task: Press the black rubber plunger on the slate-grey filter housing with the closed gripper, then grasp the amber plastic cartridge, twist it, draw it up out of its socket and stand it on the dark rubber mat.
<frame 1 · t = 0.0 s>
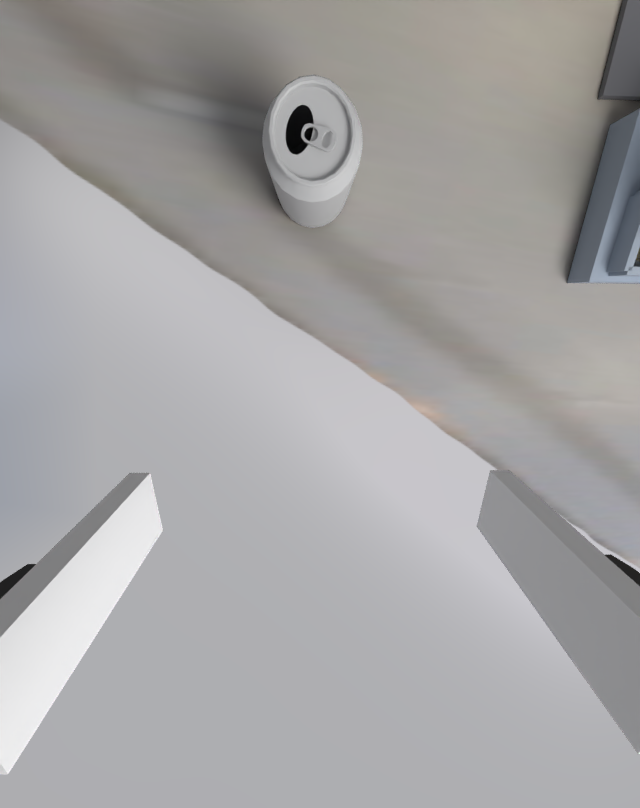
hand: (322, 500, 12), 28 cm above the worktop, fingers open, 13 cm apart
housing: (635, 210, 33), on the worktop
can: (312, 190, 32), on the worktop
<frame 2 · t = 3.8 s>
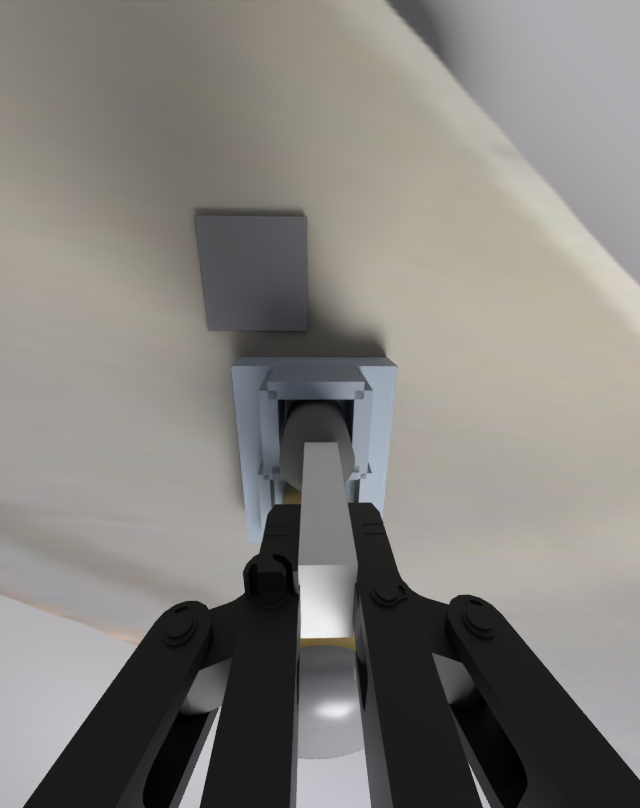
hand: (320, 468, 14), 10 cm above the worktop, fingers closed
plunger: (316, 438, 16), point 8 cm above the worktop, slide at 0.6 cm, touching gripper
housing: (314, 445, 25), on the worktop
mat: (256, 277, 20), on the worktop
cartridge: (314, 497, 23), point 3 cm above the worktop, touching housing
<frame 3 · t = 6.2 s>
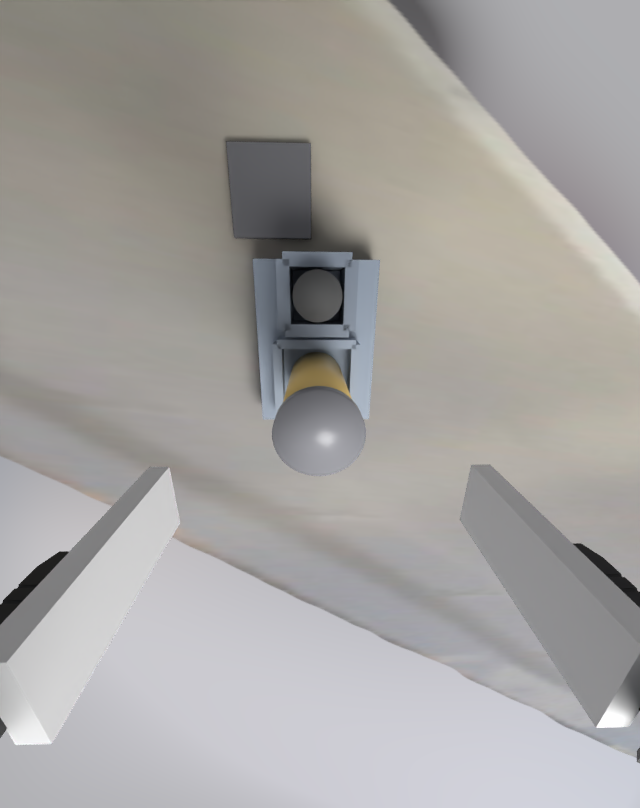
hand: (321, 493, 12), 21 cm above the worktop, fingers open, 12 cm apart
plunger: (317, 296, 24), point 6 cm above the worktop, slide at 2.0 cm
housing: (316, 341, 31), on the worktop
mat: (271, 194, 26), on the worktop
cartridge: (316, 377, 29), point 3 cm above the worktop, touching housing
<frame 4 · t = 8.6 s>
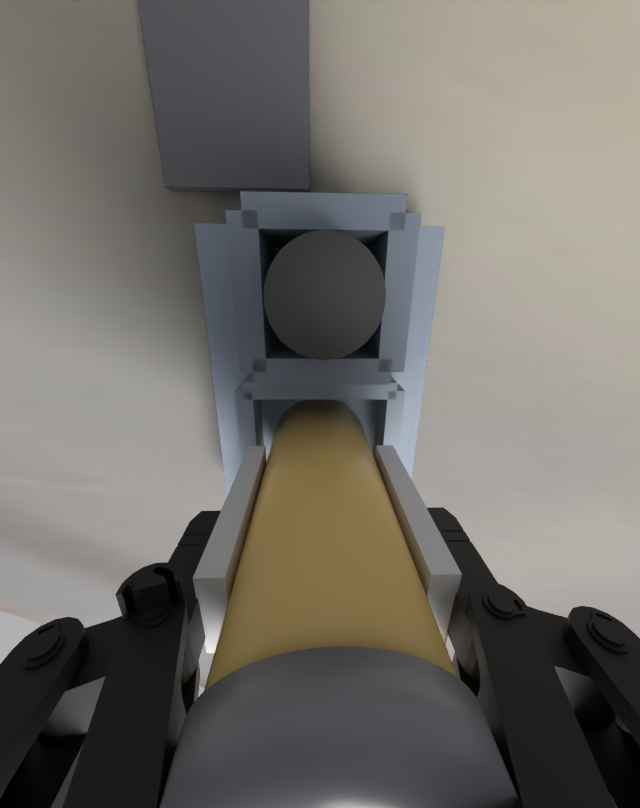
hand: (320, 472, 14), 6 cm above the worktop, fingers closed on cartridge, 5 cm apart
plunger: (322, 298, 11), point 6 cm above the worktop, slide at 2.0 cm
housing: (318, 374, 18), on the worktop
mat: (234, 102, 14), on the worktop
cartridge: (319, 439, 17), point 3 cm above the worktop, touching gripper, housing
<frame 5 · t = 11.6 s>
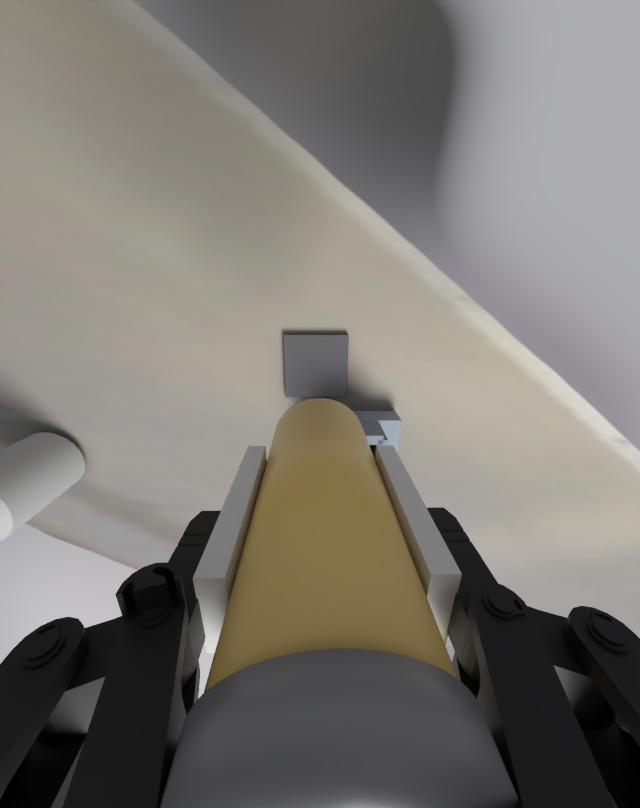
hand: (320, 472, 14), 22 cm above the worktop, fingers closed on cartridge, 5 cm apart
housing: (346, 464, 38), on the worktop
mat: (315, 365, 34), on the worktop
can: (60, 455, 37), on the worktop
cartridge: (319, 440, 17), point 18 cm above the worktop, touching gripper
when the fingers open (5 cm above the worktop, at t = 14.9 s): cartridge stays where it is, resting on mat.
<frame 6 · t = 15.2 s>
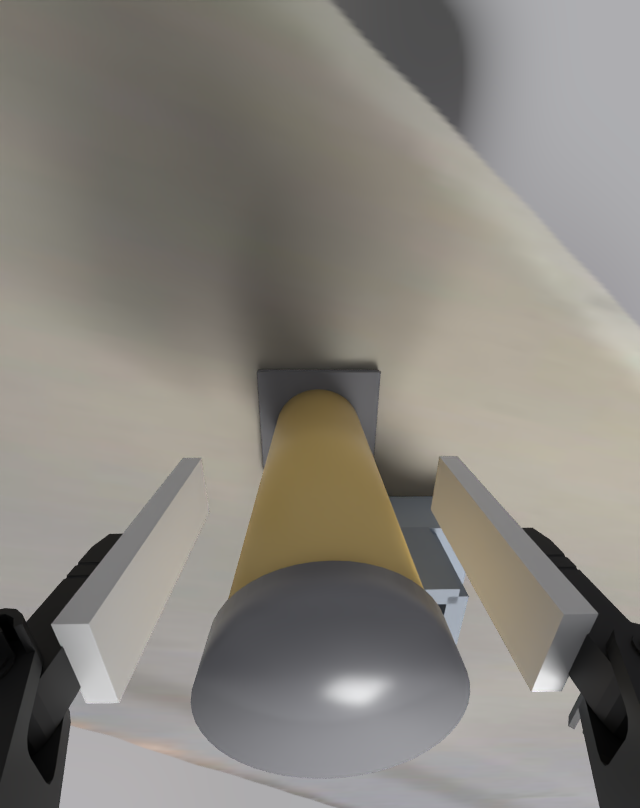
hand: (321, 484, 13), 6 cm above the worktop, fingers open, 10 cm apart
housing: (368, 576, 23), on the worktop
mat: (318, 424, 19), on the worktop
cartridge: (318, 428, 18), point 1 cm above the worktop, touching mat
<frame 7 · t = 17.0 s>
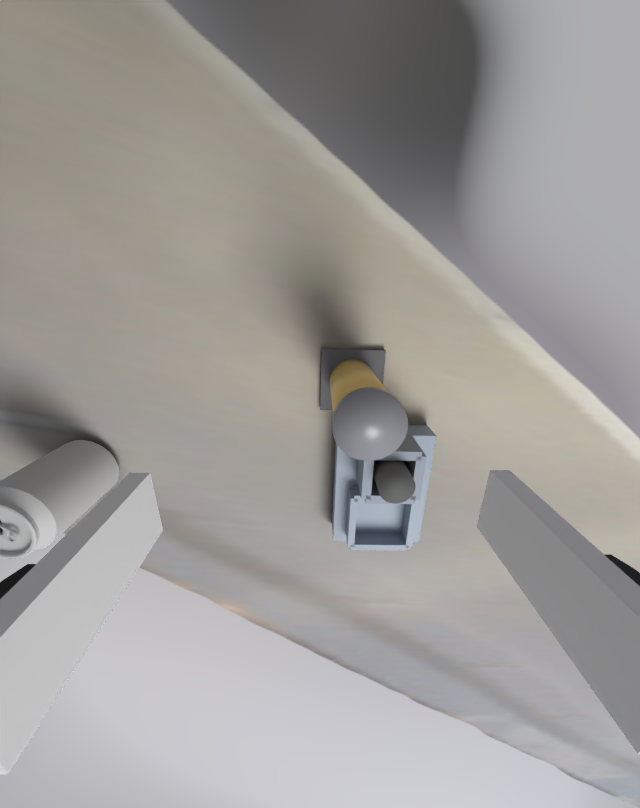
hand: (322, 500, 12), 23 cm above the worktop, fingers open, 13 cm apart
plunger: (391, 473, 31), point 6 cm above the worktop, slide at 2.0 cm
housing: (376, 477, 38), on the worktop
mat: (351, 379, 34), on the worktop
can: (94, 462, 38), on the worktop
cartridge: (351, 381, 34), point 1 cm above the worktop, touching mat
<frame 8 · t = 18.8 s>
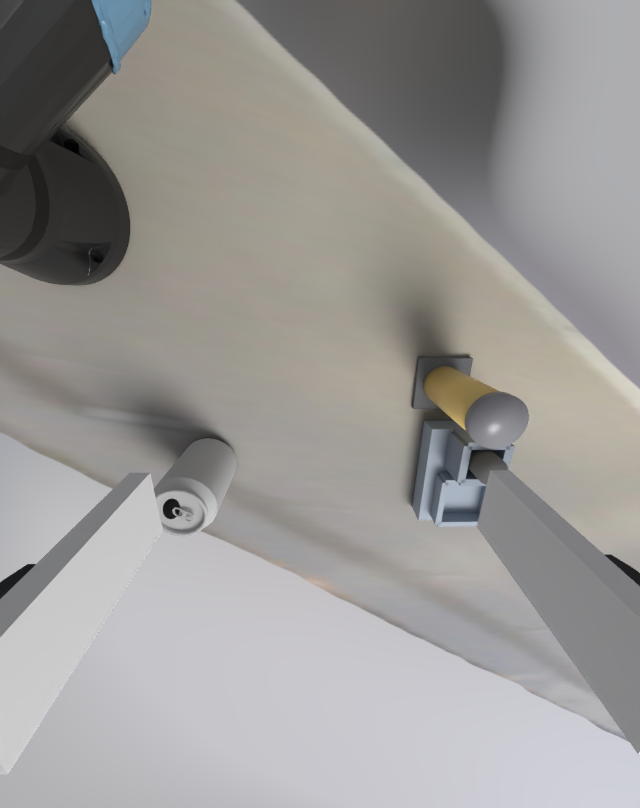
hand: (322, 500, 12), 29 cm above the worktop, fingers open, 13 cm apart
plunger: (481, 461, 38), point 6 cm above the worktop, slide at 2.0 cm
housing: (453, 465, 45), on the worktop
mat: (440, 383, 40), on the worktop
can: (213, 457, 44), on the worktop
cartridge: (442, 384, 40), point 1 cm above the worktop, touching mat
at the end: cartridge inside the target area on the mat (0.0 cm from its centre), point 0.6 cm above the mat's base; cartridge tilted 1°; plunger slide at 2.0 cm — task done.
